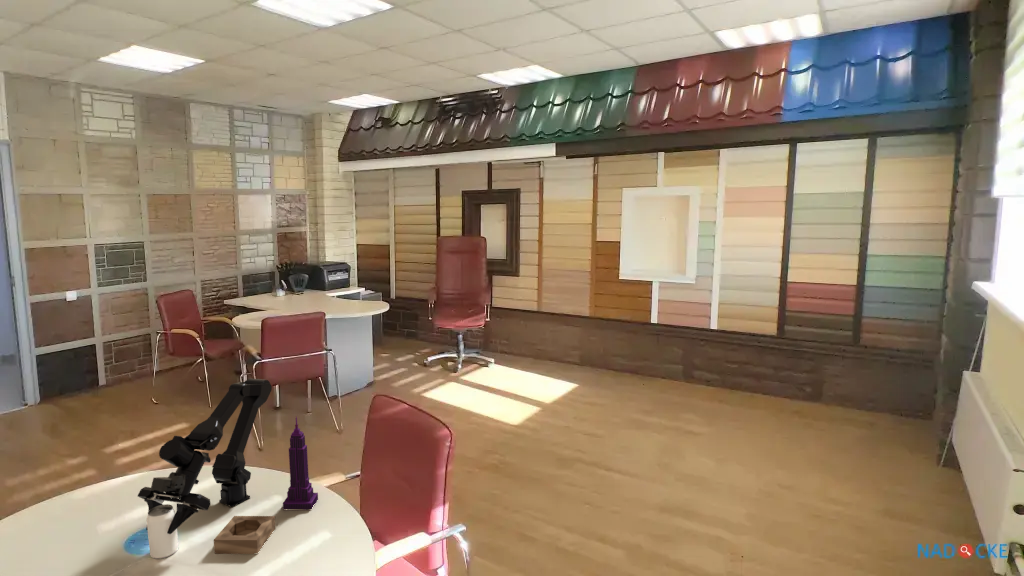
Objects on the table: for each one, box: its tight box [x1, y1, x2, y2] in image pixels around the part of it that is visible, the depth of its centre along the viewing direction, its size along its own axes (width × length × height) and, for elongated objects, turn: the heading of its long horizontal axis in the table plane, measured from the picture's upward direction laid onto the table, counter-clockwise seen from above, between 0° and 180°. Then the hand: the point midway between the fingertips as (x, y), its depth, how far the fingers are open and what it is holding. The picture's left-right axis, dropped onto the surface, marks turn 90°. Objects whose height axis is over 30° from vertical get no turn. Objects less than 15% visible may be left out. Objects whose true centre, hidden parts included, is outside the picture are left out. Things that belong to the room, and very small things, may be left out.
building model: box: [282, 417, 319, 510], centre depth 172 cm, size 9×6×30 cm
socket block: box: [213, 515, 276, 555], centre depth 155 cm, size 11×11×4 cm
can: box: [146, 504, 179, 560], centre depth 150 cm, size 6×6×12 cm
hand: (158, 532), depth 148 cm, fingers closed on can, 6 cm apart
